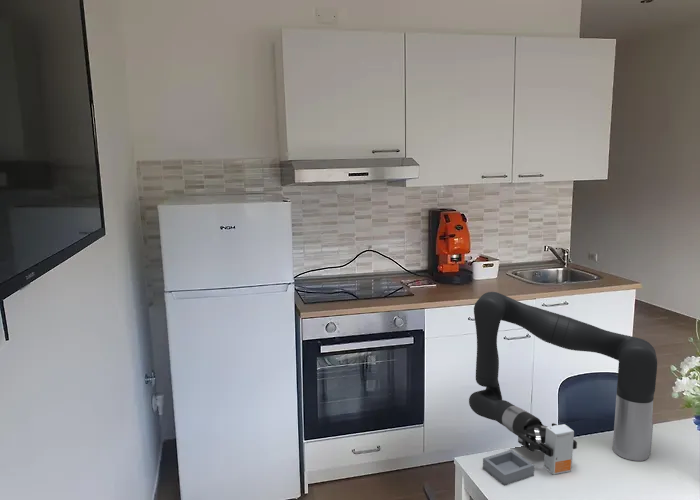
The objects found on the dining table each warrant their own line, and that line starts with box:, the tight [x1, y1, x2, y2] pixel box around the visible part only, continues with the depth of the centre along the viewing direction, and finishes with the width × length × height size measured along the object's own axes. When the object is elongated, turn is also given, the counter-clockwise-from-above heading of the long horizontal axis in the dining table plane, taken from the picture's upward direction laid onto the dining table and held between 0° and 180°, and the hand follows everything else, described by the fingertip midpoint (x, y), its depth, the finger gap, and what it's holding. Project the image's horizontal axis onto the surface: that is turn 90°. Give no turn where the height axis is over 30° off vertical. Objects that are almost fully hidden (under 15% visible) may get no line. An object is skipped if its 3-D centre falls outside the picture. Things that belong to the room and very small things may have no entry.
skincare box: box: [543, 423, 575, 475], centre depth 143 cm, size 6×4×12 cm
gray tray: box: [482, 449, 535, 486], centre depth 143 cm, size 10×9×3 cm
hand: (564, 449), depth 141 cm, fingers open, 8 cm apart
